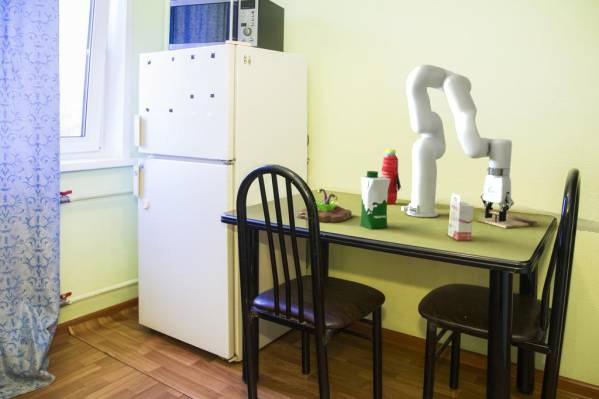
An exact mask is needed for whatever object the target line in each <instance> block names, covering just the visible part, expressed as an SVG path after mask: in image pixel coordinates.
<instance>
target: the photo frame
mask: <svg viewBox="0 0 599 399" xmlns="http://www.w3.org/2000/svg"><path fill="white" fill-rule="evenodd" d="M488 213H489V214H492V218H485V217H484V218H483V217H482V218H478V220H477V221H478V222H481V223H485V224H489V225H492V226H495V227H500V228H503V229H513V228H522V227H529V226H530V225H529V224H528V223H524V222H520V221H516V220H512V219H508V218H506V221H504V222H499V221H498V217H499V210H494V209H493V210H489V211H488Z"/></svg>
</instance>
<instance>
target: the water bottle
mask: <svg viewBox="0 0 599 399" xmlns="http://www.w3.org/2000/svg"><path fill="white" fill-rule="evenodd" d="M399 175H400V173H399V158H398V157H397V155H396V149H392V148H388V149H386V150H385V154H384V156H383V157H382V160H381V177H385V178H388V179H390V183H389V187H388V195H387V205H394V204H396V203H397V200H398V192H399V191H400V190H401V189H402V185H401V181H400V177H399Z"/></svg>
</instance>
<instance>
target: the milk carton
mask: <svg viewBox="0 0 599 399" xmlns="http://www.w3.org/2000/svg"><path fill="white" fill-rule="evenodd" d="M360 180H361V212H360V226H362V227H364V228H367V229H370V230H377V229H385V228H388V204H387V195H388V187H389V183H390V179H388V178H385V177H382V176H379V172H378V171H376V170H367V171H366V176H361V177H360Z"/></svg>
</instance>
